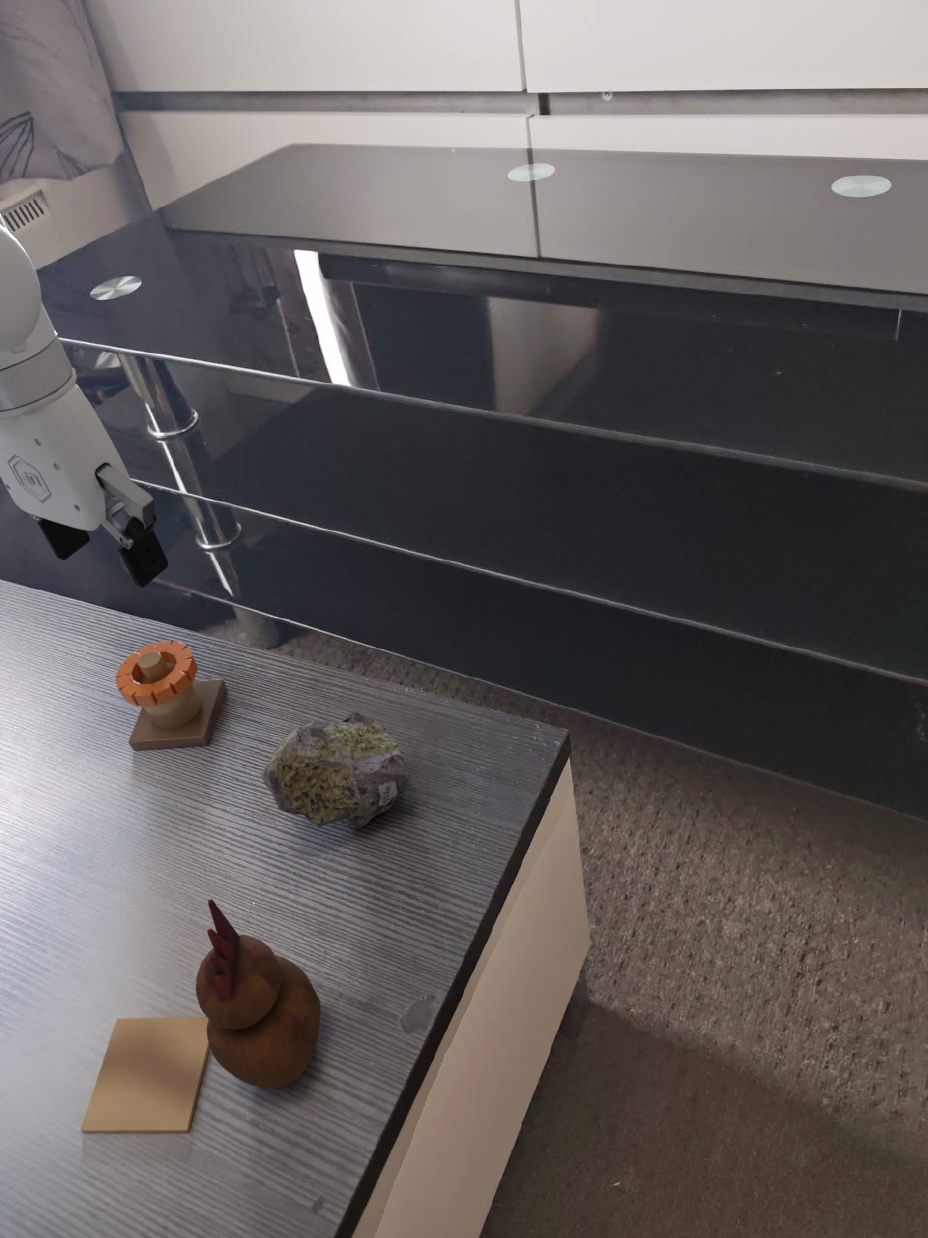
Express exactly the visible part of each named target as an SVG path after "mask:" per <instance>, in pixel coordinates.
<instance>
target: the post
mask: <svg viewBox="0 0 928 1238" xmlns="http://www.w3.org/2000/svg"><path fill="white" fill-rule="evenodd" d="M138 665H139V667H140V669H141V671H142V672H143V674H142V675H141V677H140V679H139V682H138V683H140V684H153V683H155V682H157V681H160V680H162V679H164V678H166V677H167V676H168V675H169V674H170V673H171V672H172V671H173V670H174V668H175V665H176V664H174V663H172V662H169V663H165V662H164V660H163V658H162V656H161V654H160V653H159V652H156V651H151V652H148V653H146V654H144V655H143V656H141V657H140V659H139V661H138ZM190 683H191V685H190V686H189V687H188V688H187V689H186V690H185V691H184V692H183V693H182V694H181V695H178V694H175V695H176V698H175V699H173V700H171V701H169V702H166V703H164V704H162V705H160V704H159V702H158V703H157V706H152V707H141V710H140V712H139V714H138V716H137V719H136V722H135V724H134V727H133V729H132V731H131V734H130V737H129V739H128V742H127V743H128V744H129V746H130V748H131V749H132V750H133V751H145V750H161V749H175V748H189V747H205V746H209V745H210V740H211V737H212V735H213V732H214V729H215V725H216V722H217V718H218V716H219V713H220V711H221V710H220V709H221V706H222V703H223V700H224V697H225V694H226V691H227V688H228V687H227V684H226V683H225V680H224V678H216V679H215V678H214V679H202V680H194V681H193V682H190Z"/></svg>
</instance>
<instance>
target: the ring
mask: <svg viewBox="0 0 928 1238" xmlns="http://www.w3.org/2000/svg"><path fill="white" fill-rule="evenodd" d="M151 651H156V652H159V653H160V654H161V656H162V658H163V660H164V662H165V663H169V662H172V663H174V664H176V665H175V668H174V670H173V671H172V672H171V673H170V674H169V675H168V676H167V677H166V678H164V679H162V680H160V681H157V682H155V683H153V684H140V683H138V682H139V679H140V677H141V675H142V674H143V672H142V671H141V669H140V667H139V665H138V661H139V659H140V657H141V656H143V655H144V654H146V653H148V652H151ZM198 667H199V666H198V664H197V662H196V659H195V657H194V655H193V653H192V651H191V649H190V647H188V645H187V644H185V643H182V642H180V641H177V640H174V641H173V640H162V641H157V642H156V644H155V643H154V642H152V643H150V644H147V645H145V646H143V647H140V648H138V652H137V651H134V652H133V653H131V654H130V655H129V656H128V657H127V658H126V659H125V660H124V661H123V664H120V665H119V667H118V670H117V672H116V674H115V678H114V679H115V683H116V686H117V689H118V691H119V693H120V695H121V696H122V698H123V700H125V701H126V703H129V704H131V705H132V706H135V707H137V708H138V707H140V708H142V707H152V706H157V703H158V702H159V704H160V705H162V704H164V703H166V702H169V701H171V700H173V699H175V698H176V695H175V694H178V695H181V694H182V693H183V692H184V691H185V690H186V689H187V688H188V687H189V686H190V685H191V683H190V682H193V681H195V679H196V675H197V673H198Z"/></svg>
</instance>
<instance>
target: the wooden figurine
mask: <svg viewBox="0 0 928 1238" xmlns="http://www.w3.org/2000/svg"><path fill="white" fill-rule="evenodd" d="M207 905H208V909H209V911H210V915H211V918H212V921H213V924H214V927H215V929H213V928H207V930H206V931H207V932H206V933H207V936H208V939H209V941H210V943H211V945H212V949H211V950H209V952H207V954H206V955H205V957H204V958H203V959H202V960H201V963H200V965H199V968H198V971H197V975H196V979H195V995H196V998H197V1001H198V1005H199V1008H200V1010H201V1011H202V1013H203V1014H204V1015H205V1017H208V1024H207V1038H208V1042H209V1045H210V1052H211V1055H212V1056H213V1058H214V1060H215V1061H216V1063H218V1064H219V1065H220V1066H221V1067H222V1068H223V1069H224V1070H226V1071H227V1072H228V1073H230V1075H232V1076H233V1077H234V1078H236V1079H238V1080H239V1081H241V1082H242V1083H245V1084H247V1085H250V1086H255V1087H258V1088H262V1089H270V1088H271V1089H274V1088H282V1087H285V1086H287V1085H288V1084H291V1083H292V1082H294V1081H296V1080H297V1079H298V1078H299V1077H300V1076H301V1075H302V1073H304V1071H305V1070H306V1069H307V1068H308V1066H309V1064H310V1062H311V1060H312V1058H313V1057H314V1055H315V1053H316V1050H317V1049H316V1048H317V1044H318V1042H319V1041H318V1040H319V1034H320V1024H321V1013H322V1008H321V1000H320V998H319V996H318V994H317V991H316V990H315V988H314V986H313V984H312V982H311V980H310V978H309V976H308V975H307V974H306V972H305V971H304V970H303V969H302V968H300V967H299V966H298V965H296V964H295V963H293V962H292V961H290V960H289V959H287V958H285V957H284V956H281V955H278V954H275V952H274V951H273V950H272V949H271V947H269V946H268V944H266V943H265V942H264V941H262V940H261V939H259V938H257V937H255V936H251V935H247V934H240V935H239V934H238V933H237V930H236V929H235V928H234V927H233V925H232V924H231V922H230V921H229V920H228V918H227V917H226V916H225V914H224V913H223V912H222V910H221V909H220V908H219V907H218V905H217V903H216V902H215V901H214V900H213V898H210V899H208V900H207ZM215 930H216V931H215Z"/></svg>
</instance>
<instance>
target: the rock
mask: <svg viewBox="0 0 928 1238" xmlns="http://www.w3.org/2000/svg"><path fill="white" fill-rule="evenodd" d="M260 778H261V779H262V782H263V783H264V785H265V787H266V788H267V789H268V790H269V792H270V793H271V795H272V797H273V799H274V801H275V804H276V806H277V808H278V809H279V810H280V811H282V812H284V813H288V814H292V815H295V816H300V815H301V816H302V815H303V816H304V817H305V818H306V819H307V821H309V823H310V824H312V825H314V826H317V827H319V828H320V827H324V826H326V825H330V824H332V823H333V824H334V823H337V822H340V821H344V820H345V819H346V820H347V821H348V823H349V824H350V825H351V826H353V827H354V828H358V829H360V828H362V827H364V826H367V825H368V823H370V821H371V820H372V819H373V818H375V817H376V816H377V815H380V814H382V813H385V812H386V811H388V810H389V809H390V808H392V807H393V805H394V803H395V801H396V799H397V797H400V796H402V795H403V794H404V793H405V792H406V789H407V786H408V784H407V783H408V782H409V780H410V774H409V769H408V767H407V764H406V762H405V759H404V755H403V754H402V752H401V751H400V749H399V741H398V740H397V739H396V738H394V736H392V735H391V734H390V733H389V732H388V729H386V728H385V726H383V725H380V724H378V723H377V722H376V721H375V719H374V718H370V717H369V718H368V717H366V716H365V715H361V713H359V712H358V711H356V712H352V713H351V714H348V715H347V716H346V717H345V718H344V719H342V720H340V721H339V720H338V721H337V720H324V722H321V721H317V720H313V721H312V722H309V723H305V724H304V725H300V726H298V727H296V728H295V729H293V731H292V732H291V733H287V735H286V736H285V738H284V739H283V740H282V742H281V743H280V744H279V746H276V748H275V750H274V751H273V753H272V756H271V757H270V758H269V759H268V761H267V764H266V765H265V766H264V767H263V771H262V774H261V775H260Z"/></svg>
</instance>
